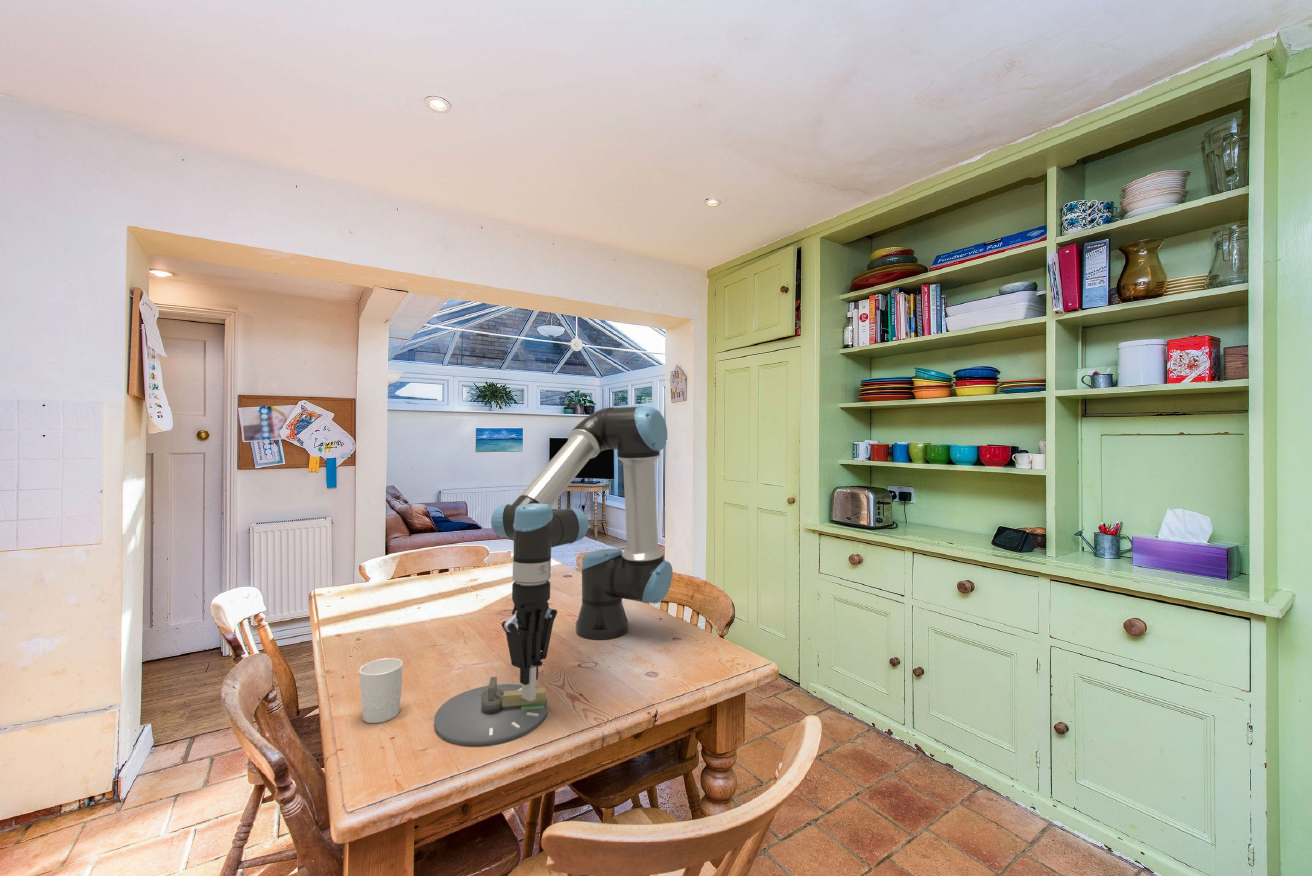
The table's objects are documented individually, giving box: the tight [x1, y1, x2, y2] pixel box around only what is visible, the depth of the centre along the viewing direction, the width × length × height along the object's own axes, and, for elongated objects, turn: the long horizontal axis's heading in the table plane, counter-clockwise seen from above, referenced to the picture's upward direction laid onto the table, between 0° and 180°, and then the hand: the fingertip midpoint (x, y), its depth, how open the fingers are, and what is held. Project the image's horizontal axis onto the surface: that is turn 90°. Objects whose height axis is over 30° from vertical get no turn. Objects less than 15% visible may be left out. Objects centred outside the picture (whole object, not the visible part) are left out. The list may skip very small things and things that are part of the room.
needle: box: [481, 676, 546, 713], centre depth 111 cm, size 13×5×5 cm, turn 100°
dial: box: [433, 683, 548, 747], centre depth 110 cm, size 22×22×2 cm
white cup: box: [358, 657, 403, 724], centre depth 110 cm, size 8×8×10 cm
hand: (528, 698), depth 109 cm, fingers closed
